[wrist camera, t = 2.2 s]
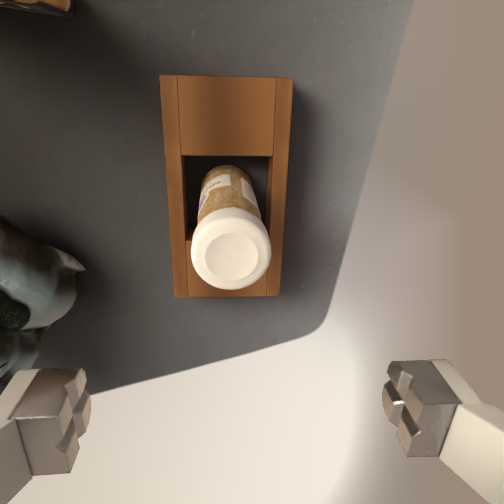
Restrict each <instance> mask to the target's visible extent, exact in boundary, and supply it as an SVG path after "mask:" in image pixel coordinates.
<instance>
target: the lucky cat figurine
mask: <svg viewBox="0 0 504 504" xmlns="http://www.w3.org/2000/svg"><path fill="white" fill-rule="evenodd" d="M84 270H85V268H84V267H83V266H82V265H81V264H80V263H79V262H78V261H77V260H76V259H75V258H74V257H73V256H72V255H70V254H67V253H65V252H64V251H61V250H59V249H56V248H54V247H52V246H49V245H47V244H46V243H44V242H42V241H40V240H39V239H37V238H35V237H33V236H32V235H30V234H29V233H27V232H26V231H24V230H23V229H22V228H20V227H19V226H17V225H16V224H14V223H13V222H11V221H10V220H8V219H7V218H5V217H4V216H2V215H1V214H0V395H1V394H2V392H3V391H4V390H5V388H6V387H7V385H8V384H9V382H10V381H11V379H12V378H13V376H14V375H15V373H16V372H18V371H19V370H21V369H30V368H31V367H32V365H33V364H34V361H35V359H36V358H37V357H38V355H39V352H40V349H39V346H40V343H41V341H42V339H43V337H44V335H45V333H46V332H47V330H48V329H49V327H50V326H51V324H52V323H53V322H54V321H56V320H58V319H60V318H61V317H63V316H64V315H65V314H66V313H67V312H68V311H69V310H70V309H71V307H72V306H73V304H74V301H75V300H76V296H77V295H78V290H77V288H76V283H75V279H76V273H77V272H78V271H84Z"/></svg>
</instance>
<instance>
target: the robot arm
mask: <svg viewBox="0 0 504 504" xmlns="http://www.w3.org/2000/svg"><path fill="white" fill-rule="evenodd" d="M387 373H388V375H389V377H390V380H389V381H388V382H387V383H386V384H385V385H384V388H383V393H382V399H383V407H384V410H385V413H386V416H387V418H388V420H389V421H390V422H391V423H393V424H394V425H395V426H397V427H398V429H397V434H396V436H397V438H398V440H399V442H400V444H401V446H402V448H403V450H404V452H405V454H406V456H407V457H437V456H438V457H439V459H440V460H441V461H443V462H444V463H445V464H446V465H447V466H448V467H449V468H450V469H452V470H453V471H454V472H455V473H456V474H457V475H458V476H459V477H461V478H462V479H463V480H464V481H465V482H466V483H468V485H470V486H471V487H472V488H473V489H474V490H475V491H476V492H477V493H479V494H480V495H481V496H482V497H483V498H484V499H485V500H486V501H488V502H489V503H490V504H504V412H503V411H502V410H500V409H498V408H496V407H495V406H493V405H491V404H490V403H483V402H482V401H481V400H480V399H479V397H478V396H477V395H476V394H475V392H473V390H472V389H471V387H470V386H469V385H468V384H467V383H466V381H465V380H464V379H463V378H462V377H461V375H460V374H459V373H458V371H457V370H456V369H455V368H454V367H453V365H452V364H451V363H450V362H449V361H447V360H446V359H435V360H421V361H420V360H418V361H392V362H391V363H390V365H389V367H388V371H387ZM86 382H87V378H86V373H85V370H83V369H21V370H19V371H18V372H16V373H15V375H14V376H13V378H12V379H11V381H10V382H9V384H8V385H7V387H6V388H5V390H4V391H3V392H2V394H1V395H0V504H7V503H8V502H9V501H10V500H11V499H12V498H13V497H14V496H15V495H16V494H17V493H18V492H19V491H20V490H21V489H22V488H23V487H24V486H25V485H26V484H27V483H28V482H29V481H30V480H31V479H32V476H36V475H50V474H63V473H70V472H71V470H72V467H73V464H74V461H75V459H76V456H77V453H78V450H79V443H78V438H79V437H80V436H82V435H83V434H84V433H85V432H86V429H87V426H88V423H89V418H90V412H91V400H90V394H89V393H88V392H87V391H86V390H85V389H84V387H85V385H86Z"/></svg>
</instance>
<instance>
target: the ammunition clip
mask: <svg viewBox="0 0 504 504" xmlns="http://www.w3.org/2000/svg"><path fill="white" fill-rule="evenodd" d="M0 6H1V7H7V8H12V9H18V10H24V11H30V12H36V13H41V14H47V15H53V16H59V17H65V18H73V17H74V16H73V0H0Z"/></svg>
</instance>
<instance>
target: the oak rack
mask: <svg viewBox="0 0 504 504" xmlns="http://www.w3.org/2000/svg"><path fill="white" fill-rule="evenodd" d="M160 91H161V105H162V120H163V134H164V149H165V164H166V178H167V193H168V207H169V222H170V237H171V251H172V266H173V281H174V295H175V298H188V297H189V298H193V297H247V296H266V295H267V296H279V295H280V281H281V266H282V250H283V235H284V219H285V204H286V188H287V173H288V157H289V142H290V126H291V111H292V95H293V78H270V77H233V76H197V75H160ZM185 155H192V156H269V157H268V181H267V204H266V227H265V228H266V230H267V233H268V236H269V240H270V245H271V259H270V263H269V266H268V268H267V270H266V271H265V273H264V274H263V275H262V277H261V278H260V279H258V280H257V281H256V282H254V283H253V284H251V285H249V286H247V287H244V288H241V289H234V290H228V289H220V288H217V287H214V286H212V285H210V284H209V283H207V282H206V281H204V280H203V279H202V278H201V277H200V276H199V275H198V273H197V272H196V270H195V268H194V266H193V263H192V259H191V245H192V239H193V234H194V232H195V229H196V228H188V218H187V197H186V176H185Z"/></svg>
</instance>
